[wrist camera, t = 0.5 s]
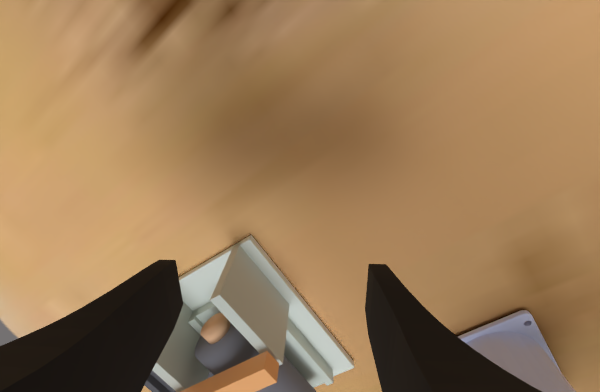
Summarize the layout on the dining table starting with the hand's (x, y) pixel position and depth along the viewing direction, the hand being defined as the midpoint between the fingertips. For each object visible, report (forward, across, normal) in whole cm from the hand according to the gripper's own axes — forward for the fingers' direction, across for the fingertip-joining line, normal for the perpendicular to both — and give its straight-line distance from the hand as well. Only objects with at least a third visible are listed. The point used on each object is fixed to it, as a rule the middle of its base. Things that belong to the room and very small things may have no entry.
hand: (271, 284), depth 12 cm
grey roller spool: (+6, +2, +13) cm, 14 cm away
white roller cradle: (+10, +3, +12) cm, 16 cm away
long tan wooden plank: (+4, +4, +11) cm, 12 cm away
